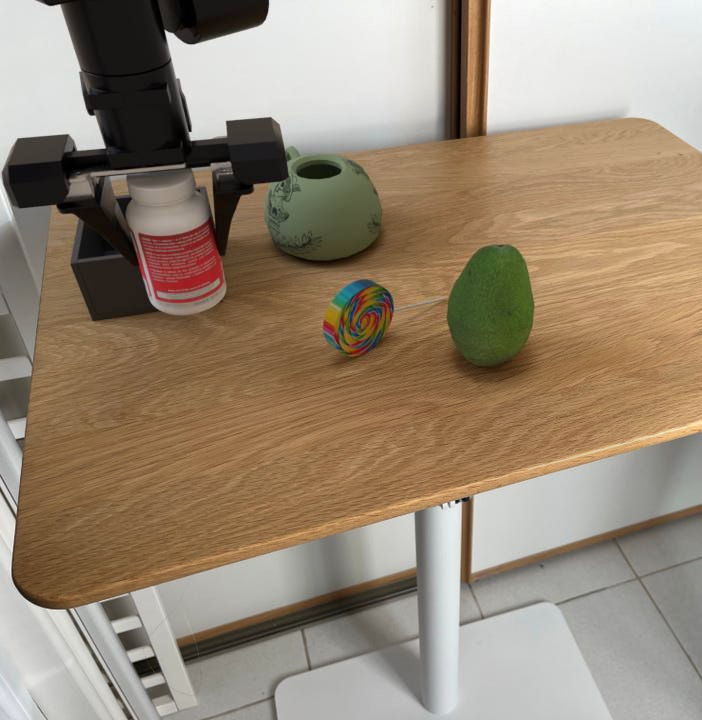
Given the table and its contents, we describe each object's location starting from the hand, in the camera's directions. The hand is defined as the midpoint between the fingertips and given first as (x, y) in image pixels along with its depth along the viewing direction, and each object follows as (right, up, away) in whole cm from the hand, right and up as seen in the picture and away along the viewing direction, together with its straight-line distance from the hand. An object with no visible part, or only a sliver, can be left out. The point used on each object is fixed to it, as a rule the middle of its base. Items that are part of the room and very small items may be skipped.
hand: (180, 258), depth 60 cm
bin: (-9, +1, +18) cm, 20 cm away
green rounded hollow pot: (+6, +7, +26) cm, 27 cm away
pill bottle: (0, -3, +2) cm, 4 cm away
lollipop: (+15, -5, +13) cm, 21 cm away
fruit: (+25, -8, +10) cm, 28 cm away
